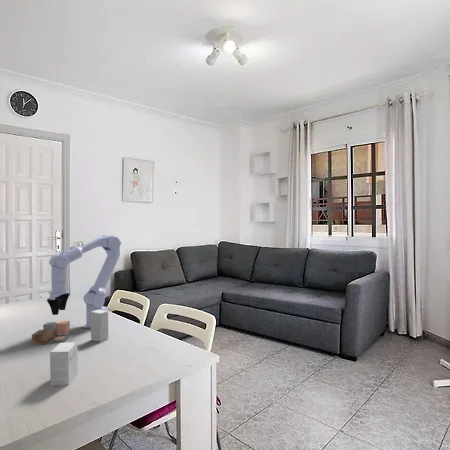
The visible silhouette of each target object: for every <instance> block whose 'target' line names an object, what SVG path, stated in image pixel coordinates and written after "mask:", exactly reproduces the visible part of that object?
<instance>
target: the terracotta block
mask: <svg viewBox="0 0 450 450" xmlns="http://www.w3.org/2000/svg"><path fill="white" fill-rule="evenodd" d="M70 322H71V321H70V320H60V321H58V322H57V333H56V336H66V335H67V334H68V333H70V332H71V331H70V330H71V328H70V327H71V323H70Z"/></svg>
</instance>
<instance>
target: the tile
mask: <svg viewBox="0 0 450 450" xmlns="http://www.w3.org/2000/svg"><path fill="white" fill-rule="evenodd" d="M69 338H70V337H69V336H66V335H63V336H56V337H54V339H53V340H51V341H50V343H65V342H66V341H67V340H68V339H69Z"/></svg>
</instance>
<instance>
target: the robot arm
mask: <svg viewBox="0 0 450 450" xmlns="http://www.w3.org/2000/svg"><path fill="white" fill-rule="evenodd" d="M121 244H122V242H121V240H120V238H119V237H118V235H108V234H104V235H103V234H102V235H101V236H98V237H96V238H94V239H93V240H91V241H90V240H89V241H88V242H87V243H84V244H83V245H81V246H77V245H76V246H74V245H72V246H69V248H68V249H66V250H64V251H62V250H61V251H59V254H58V253H57V254H53V255H52V256H51V257H50V259H49V261H48V264H49V265H50V266H51V290H50V291H49V292H48V294H50V295H49V297H48V298H47V299H46V302H47V304H48V305H49V308H50V310H51V314H52V316H57V315H59V313H60V312H59V311H65V310H66V308H67V307H66V306H67V302H68V299H69V297H70V296H71V293H68V288H67V266H68V265H69V264H71V263H72V262H75V261H76V260H79V259H80V258H82V257H83V254H85V253H87V252H89V251H91V250H93V249H96V248H99V247H101V248H102V249H103V250H104V251H105V253H106V255H107V256H106V258H105V259H104V263H103V264H102V266H101V269H100V272H99V274H98V275H97V278H96V279H95V282H94V285H92V286H91V287H90V288H89V290H88V291H87V292H85V294H84V296H83V302H84V303H85V304H86V306H85V312H86V313H85V314H86V315H85V317H86V319H85V322H86V323H85V325H83V326H82V328H84V329H87V328H88V329H89V328H90V329H91V312H92V311H95V310H104V311H108V312H109V309H108V307H107V306H104V304H105V301H106V300H105V299H106V295H107V291H106V288H107V285H108V282H109V281H110V278H111V277H112V274H113V271H114V269H115V267H116V265H117V263H118V261H119V258H120V254H121V249H120V248H121Z"/></svg>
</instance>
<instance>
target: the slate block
mask: <svg viewBox="0 0 450 450" xmlns="http://www.w3.org/2000/svg"><path fill="white" fill-rule="evenodd" d="M57 323H58V322H57V321H47V322H46V323H43V325H42V327H43V329H42V330H54V336H55V335H57Z"/></svg>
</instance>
